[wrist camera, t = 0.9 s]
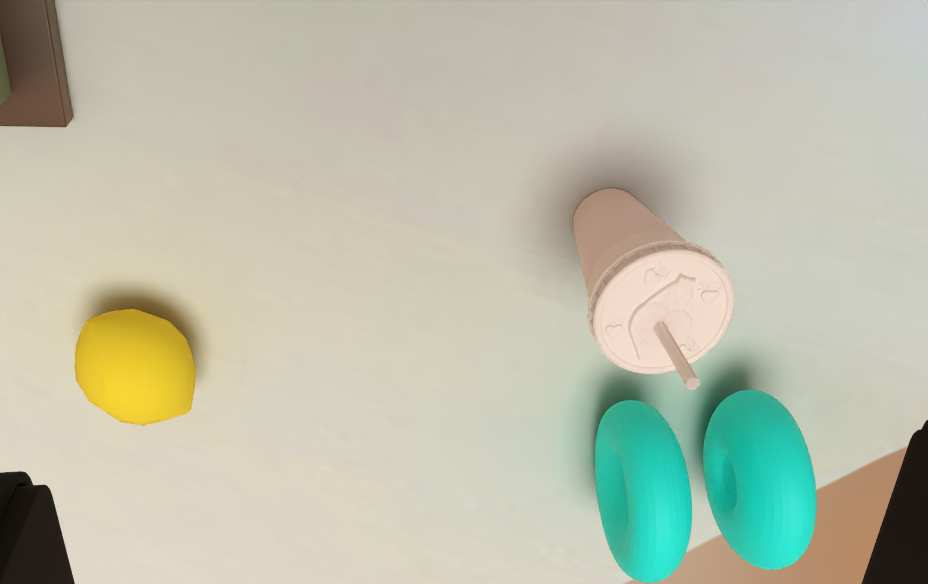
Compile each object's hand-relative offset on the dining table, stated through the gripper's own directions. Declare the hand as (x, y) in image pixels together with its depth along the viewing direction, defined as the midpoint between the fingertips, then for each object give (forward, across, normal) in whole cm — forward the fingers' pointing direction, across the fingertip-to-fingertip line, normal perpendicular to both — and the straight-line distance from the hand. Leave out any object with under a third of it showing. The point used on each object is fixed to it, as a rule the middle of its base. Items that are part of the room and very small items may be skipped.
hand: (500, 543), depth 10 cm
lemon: (+35, +12, +18) cm, 41 cm away
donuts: (+35, -18, +26) cm, 47 cm away
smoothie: (+34, -12, +12) cm, 38 cm away
